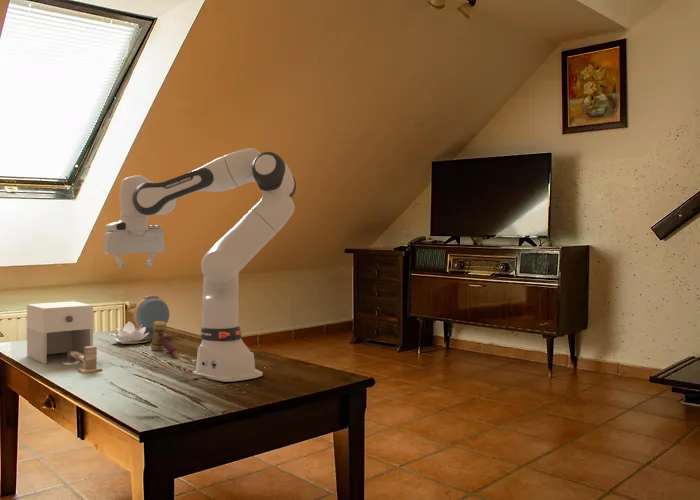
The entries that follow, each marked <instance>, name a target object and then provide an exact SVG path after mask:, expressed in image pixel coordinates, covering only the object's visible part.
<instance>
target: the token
mask: <svg viewBox="0 0 700 500" xmlns="http://www.w3.org/2000/svg"><path fill="white" fill-rule="evenodd" d="M78 364H80V360H79V359H77V362H67V360H63V361H62V365H65V366H69V365H70V366H71V365H72V366H73V365H78Z"/></svg>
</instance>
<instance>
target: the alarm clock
mask: <svg viewBox="0 0 700 500" xmlns="http://www.w3.org/2000/svg"><path fill="white" fill-rule="evenodd" d="M169 319H170V309H169V306H168V305H167V304H166V301H164V300H163V299H162V298H160V296H157V295H147V296H144V298H143V299H141V300H140V301H139V302H138V303H137V304H136V306H135V307H134V309H133V321H134V323H135V324H134V325H136V326H137V328H138V329H142V328H143V327H146V330H145V332H144V334H146V333H149V334H148V335H147V336H145V337H144V338H143V339H142V340H143V341H144V340H153V330H154V328H153V323H154V322H155V321H164V322H166V325H167V324H168V322H169ZM141 325H142V326H141ZM140 327H141V328H140ZM144 334H143V335H144ZM164 337H165V338H167V337H168V335H166V334H165V333H164Z"/></svg>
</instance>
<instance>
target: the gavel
mask: <svg viewBox="0 0 700 500" xmlns="http://www.w3.org/2000/svg"><path fill="white" fill-rule="evenodd" d="M153 328H154V330H153V339H151V340H152V341H151V343H150V349H151V350H153V351H156V352H157V351H162V350H164V349H165V350H166V351H167V352H168V353H169V354H170V355H171V356H174V357H178V355H179V354H178V353H179V352H178V349H177V348H176V347H175V346H174V345H173V344H172V343H171V342H170V341H169V340H168V338H167V337H164V334H165V330H166V328H167V324H166V322H164V321H155V322H154V323H153Z"/></svg>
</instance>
